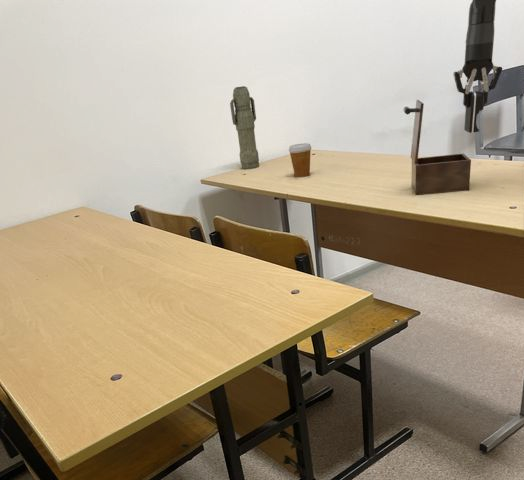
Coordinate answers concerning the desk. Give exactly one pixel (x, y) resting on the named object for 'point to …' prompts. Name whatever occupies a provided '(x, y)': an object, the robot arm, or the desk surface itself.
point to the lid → (416, 128)
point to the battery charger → (473, 111)
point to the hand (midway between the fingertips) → (474, 106)
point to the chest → (441, 174)
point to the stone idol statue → (245, 126)
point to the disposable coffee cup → (300, 159)
